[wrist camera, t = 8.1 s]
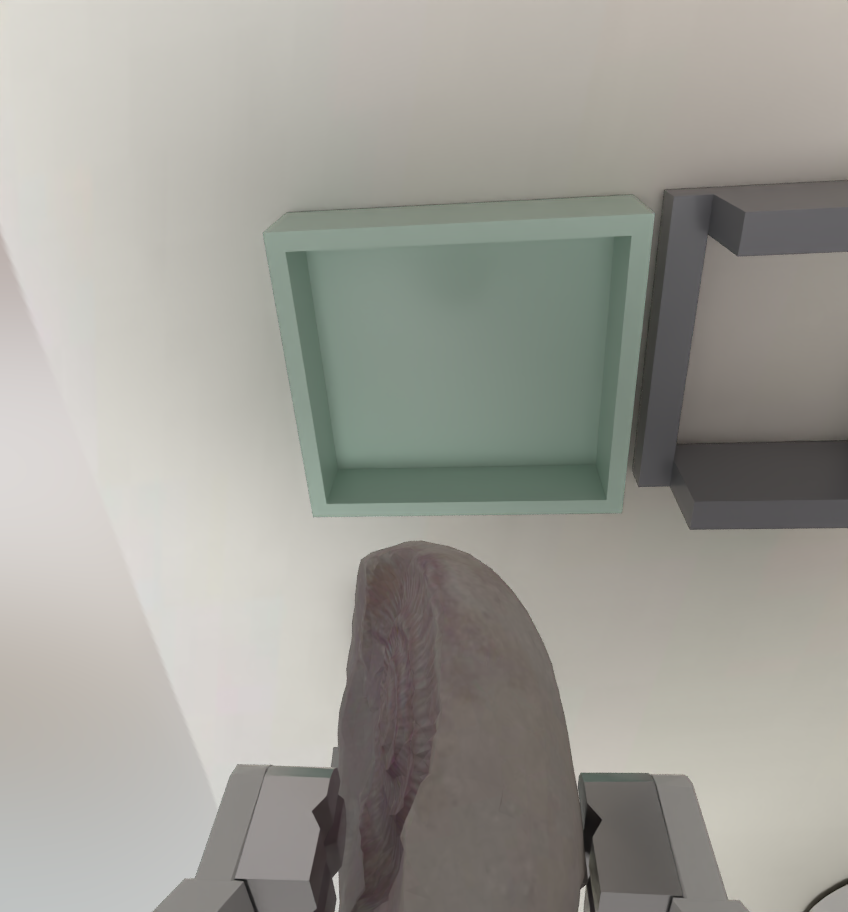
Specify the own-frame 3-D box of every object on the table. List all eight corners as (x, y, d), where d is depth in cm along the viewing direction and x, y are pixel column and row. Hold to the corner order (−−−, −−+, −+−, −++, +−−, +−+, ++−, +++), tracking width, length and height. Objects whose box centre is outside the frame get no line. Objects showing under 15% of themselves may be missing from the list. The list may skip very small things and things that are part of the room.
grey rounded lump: (384, 415, 13) (485, 1179, 4) (545, 461, 14) (885, 1151, 5) (299, 626, 15) (259, 1347, 7) (439, 652, 16) (550, 1308, 8)
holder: (971, 173, 21) (1069, 195, 18) (874, 466, 26) (934, 527, 23) (664, 189, 22) (700, 214, 18) (632, 470, 27) (655, 529, 24)
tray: (632, 194, 22) (654, 213, 19) (607, 468, 27) (621, 513, 25) (286, 212, 23) (262, 232, 20) (328, 473, 28) (312, 516, 26)
